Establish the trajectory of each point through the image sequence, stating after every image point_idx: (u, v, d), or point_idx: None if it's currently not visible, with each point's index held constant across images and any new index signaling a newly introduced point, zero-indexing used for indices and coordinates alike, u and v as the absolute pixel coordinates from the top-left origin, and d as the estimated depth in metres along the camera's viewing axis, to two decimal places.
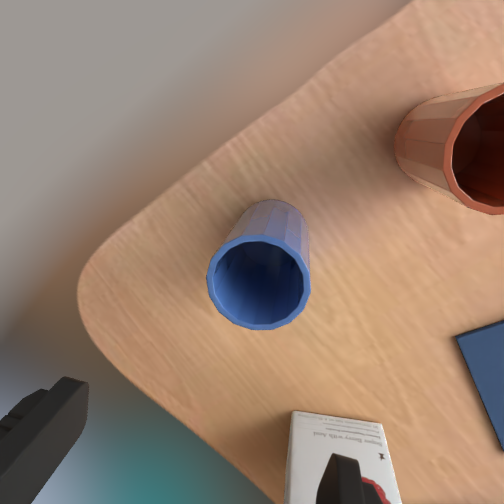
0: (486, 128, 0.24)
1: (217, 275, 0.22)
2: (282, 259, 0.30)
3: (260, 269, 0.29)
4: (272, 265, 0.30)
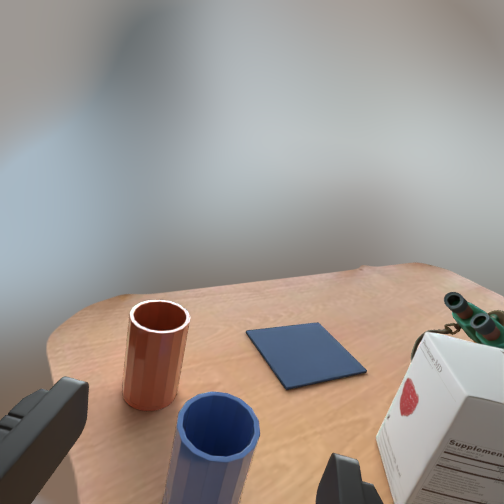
0: None
1: None
2: None
3: None
4: None
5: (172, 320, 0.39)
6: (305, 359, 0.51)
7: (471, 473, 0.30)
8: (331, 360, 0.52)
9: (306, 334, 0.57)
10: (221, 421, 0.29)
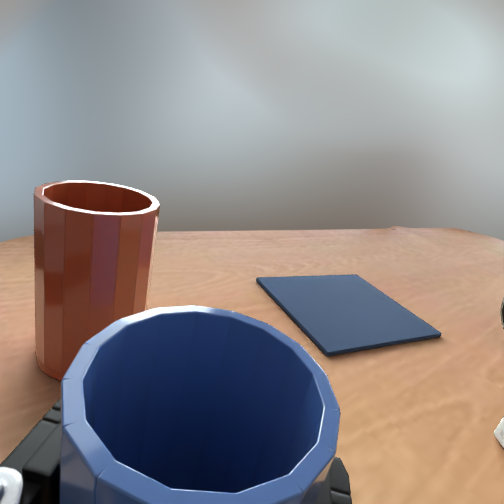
0: None
1: None
2: None
3: None
4: None
5: None
6: (348, 315, 0.33)
7: None
8: (386, 319, 0.34)
9: (343, 286, 0.39)
10: (218, 386, 0.11)
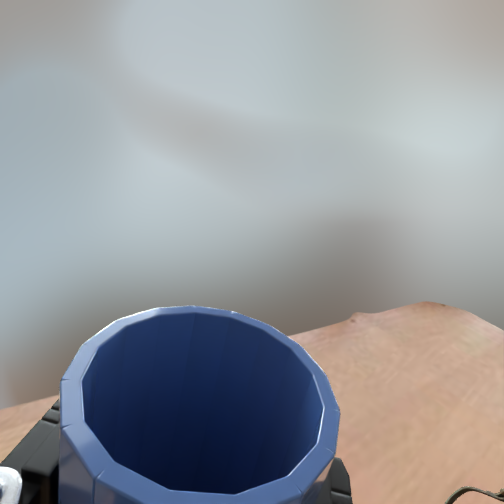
0: None
1: None
2: None
3: None
4: None
5: None
6: None
7: None
8: None
9: None
10: (217, 387, 0.11)
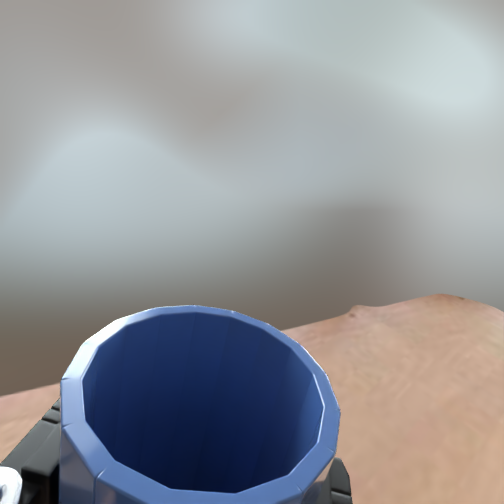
0: None
1: None
2: None
3: None
4: None
5: None
6: None
7: None
8: None
9: None
10: (218, 386, 0.11)
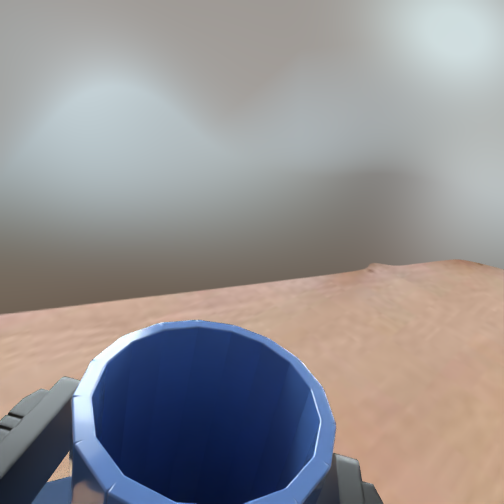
0: None
1: None
2: None
3: None
4: None
5: None
6: None
7: None
8: None
9: None
10: (219, 397, 0.12)
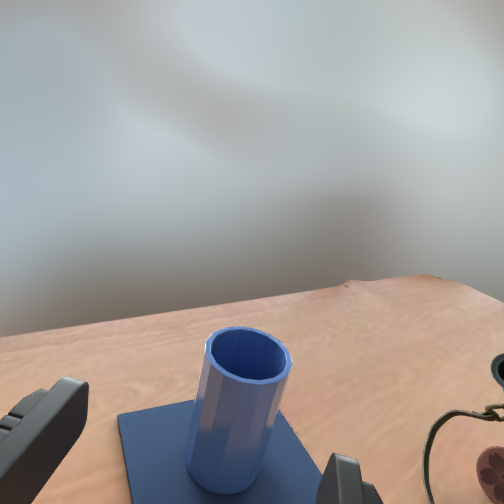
0: None
1: None
2: None
3: None
4: None
5: None
6: None
7: None
8: (269, 479, 0.27)
9: None
10: (247, 360, 0.28)
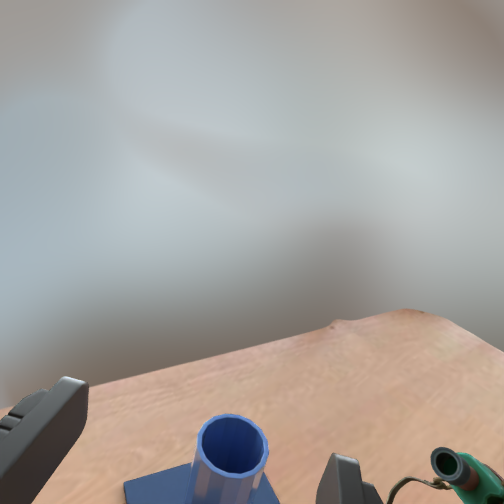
0: None
1: None
2: None
3: None
4: None
5: None
6: None
7: None
8: None
9: None
10: (233, 440, 0.33)
